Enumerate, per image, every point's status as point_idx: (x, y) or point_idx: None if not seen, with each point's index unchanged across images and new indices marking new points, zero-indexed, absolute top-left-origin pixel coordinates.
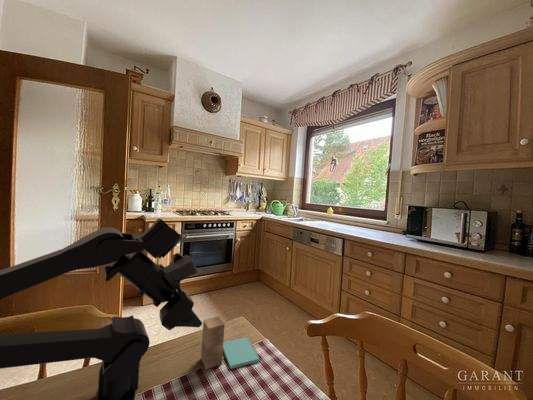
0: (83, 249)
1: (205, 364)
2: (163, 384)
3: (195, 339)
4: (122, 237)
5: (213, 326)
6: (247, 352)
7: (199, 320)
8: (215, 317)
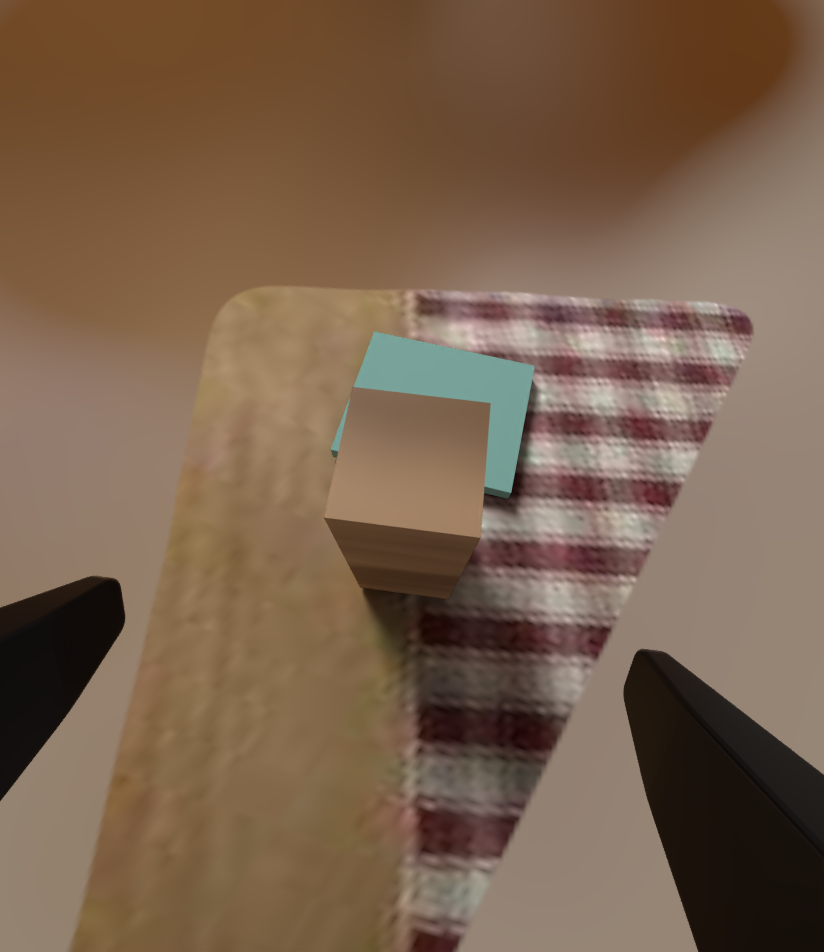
0: None
1: (441, 594)
2: (418, 849)
3: (190, 546)
4: None
5: (472, 488)
6: (470, 385)
7: (732, 712)
8: (352, 416)
